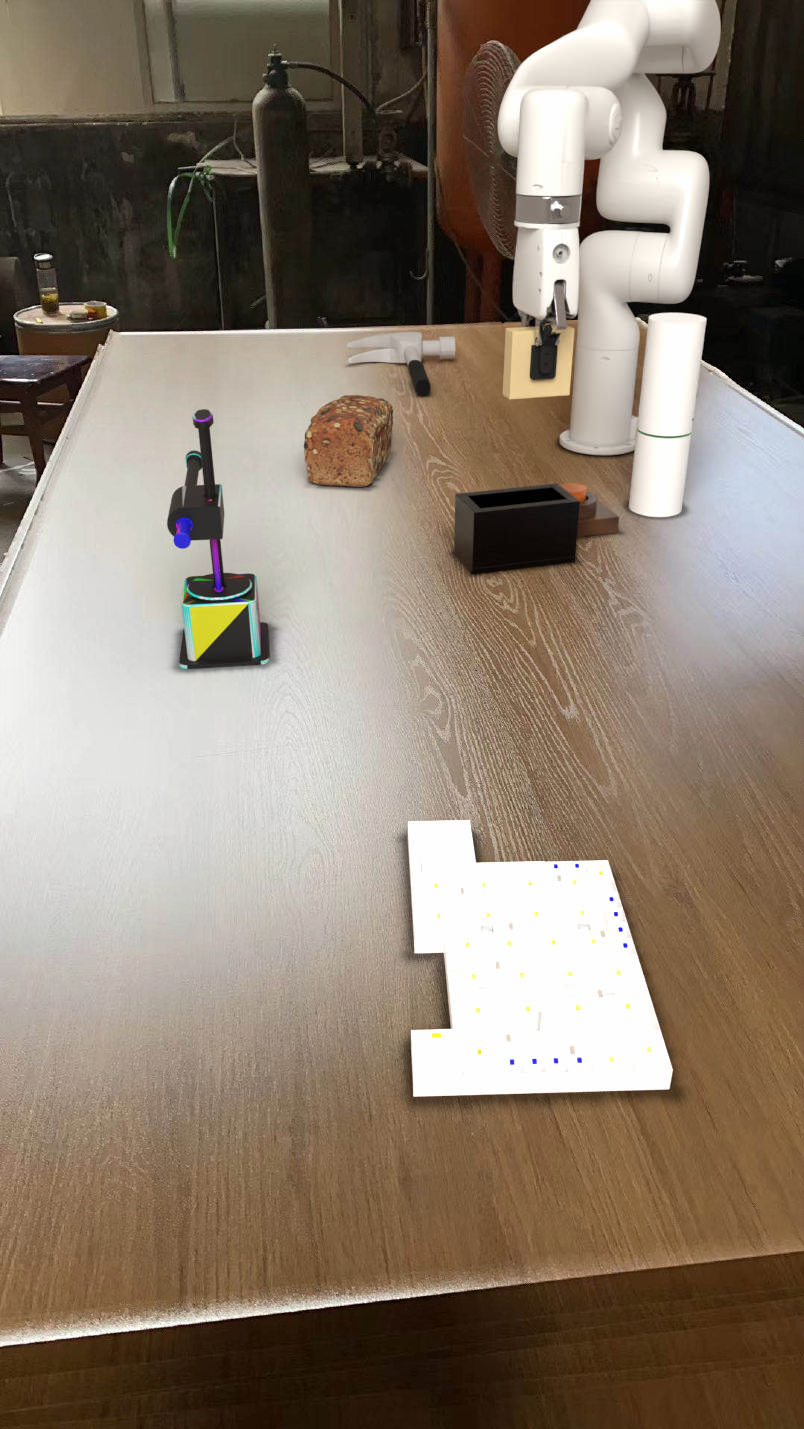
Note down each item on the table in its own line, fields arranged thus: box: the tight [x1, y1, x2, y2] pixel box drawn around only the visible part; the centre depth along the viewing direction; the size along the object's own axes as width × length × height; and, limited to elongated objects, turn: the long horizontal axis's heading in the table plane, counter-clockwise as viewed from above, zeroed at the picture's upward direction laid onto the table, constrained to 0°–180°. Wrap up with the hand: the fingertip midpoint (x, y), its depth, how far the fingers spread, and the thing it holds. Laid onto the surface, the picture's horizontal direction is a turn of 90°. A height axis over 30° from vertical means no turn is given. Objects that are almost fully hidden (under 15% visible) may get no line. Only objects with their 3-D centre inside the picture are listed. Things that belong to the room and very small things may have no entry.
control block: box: [577, 491, 620, 538], centre depth 143 cm, size 10×8×4 cm
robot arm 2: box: [166, 408, 270, 670], centre depth 112 cm, size 25×9×24 cm, turn 7°
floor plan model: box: [407, 819, 674, 1098], centre depth 75 cm, size 15×25×2 cm, turn 2°
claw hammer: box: [347, 331, 457, 397], centre depth 213 cm, size 5×22×30 cm
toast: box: [502, 324, 576, 401], centre depth 133 cm, size 8×2×8 cm, turn 106°
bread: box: [303, 394, 394, 488], centre depth 163 cm, size 19×11×10 cm, turn 170°
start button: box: [559, 482, 588, 502], centre depth 142 cm, size 4×4×2 cm
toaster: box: [453, 482, 580, 575], centre depth 133 cm, size 13×7×8 cm, turn 106°
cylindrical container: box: [628, 312, 708, 518], centre depth 143 cm, size 7×7×25 cm
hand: (537, 374), depth 134 cm, fingers closed on toast, 2 cm apart
